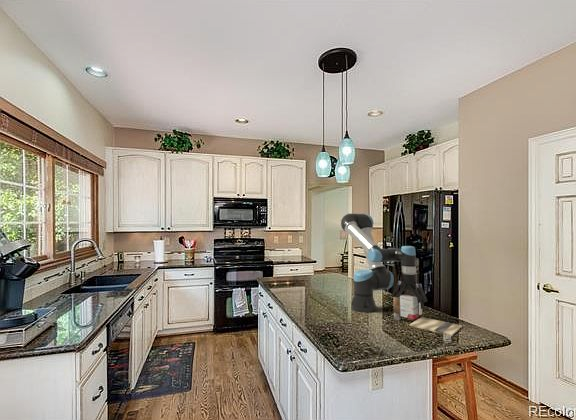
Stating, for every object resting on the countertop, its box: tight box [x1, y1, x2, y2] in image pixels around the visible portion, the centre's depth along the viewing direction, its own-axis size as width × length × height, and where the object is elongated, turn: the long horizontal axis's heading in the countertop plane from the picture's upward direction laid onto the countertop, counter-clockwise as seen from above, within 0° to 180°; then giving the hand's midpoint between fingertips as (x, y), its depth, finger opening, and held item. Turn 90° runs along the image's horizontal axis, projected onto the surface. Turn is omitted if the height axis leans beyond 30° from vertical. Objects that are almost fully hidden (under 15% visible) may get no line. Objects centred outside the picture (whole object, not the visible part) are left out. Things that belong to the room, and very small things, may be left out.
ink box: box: [399, 294, 419, 321], centre depth 171 cm, size 9×5×12 cm, turn 33°
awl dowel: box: [392, 296, 401, 321], centre depth 166 cm, size 3×3×12 cm
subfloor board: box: [409, 316, 463, 337], centre depth 156 cm, size 20×17×1 cm
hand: (409, 311), depth 171 cm, fingers open, 12 cm apart
